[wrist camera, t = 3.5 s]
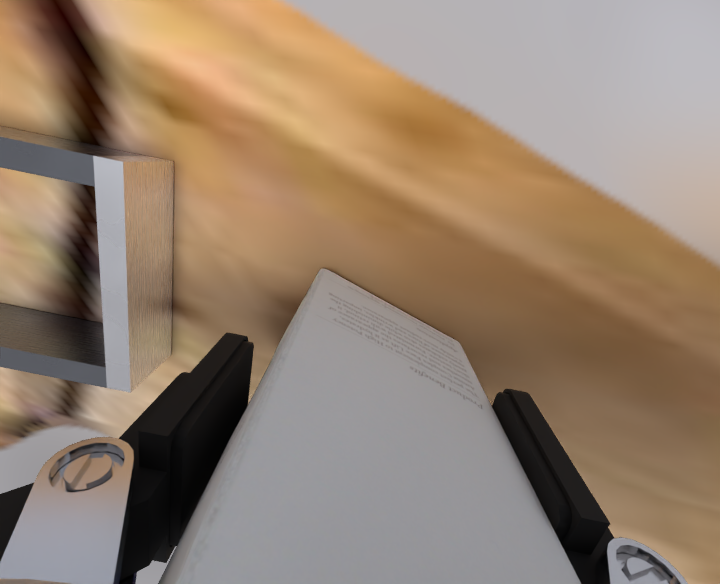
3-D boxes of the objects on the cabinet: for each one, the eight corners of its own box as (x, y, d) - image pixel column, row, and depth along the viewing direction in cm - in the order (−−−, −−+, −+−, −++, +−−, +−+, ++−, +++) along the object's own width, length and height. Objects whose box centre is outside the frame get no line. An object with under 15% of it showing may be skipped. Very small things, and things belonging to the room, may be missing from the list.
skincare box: (273, 353, 14) (-154, 1117, 3) (325, 256, 13) (-126, 1028, 1) (409, 421, 15) (493, 1246, 4) (472, 336, 14) (951, 1271, 2)
